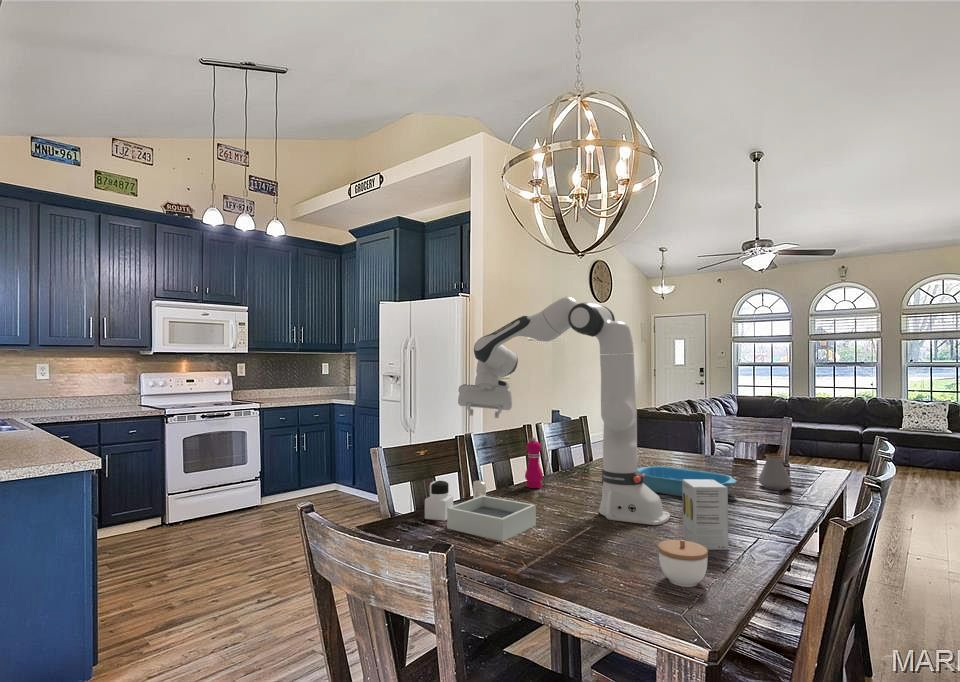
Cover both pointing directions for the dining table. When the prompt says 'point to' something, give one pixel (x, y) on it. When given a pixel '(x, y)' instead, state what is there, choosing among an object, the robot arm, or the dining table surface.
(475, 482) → the tin can
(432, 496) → the medicine bottle
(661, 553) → the lidded jar
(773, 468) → the coffee pot
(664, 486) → the casserole dish
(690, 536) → the supplement box
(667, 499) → the dining table surface
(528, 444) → the pepper mill
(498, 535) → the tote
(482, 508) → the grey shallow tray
